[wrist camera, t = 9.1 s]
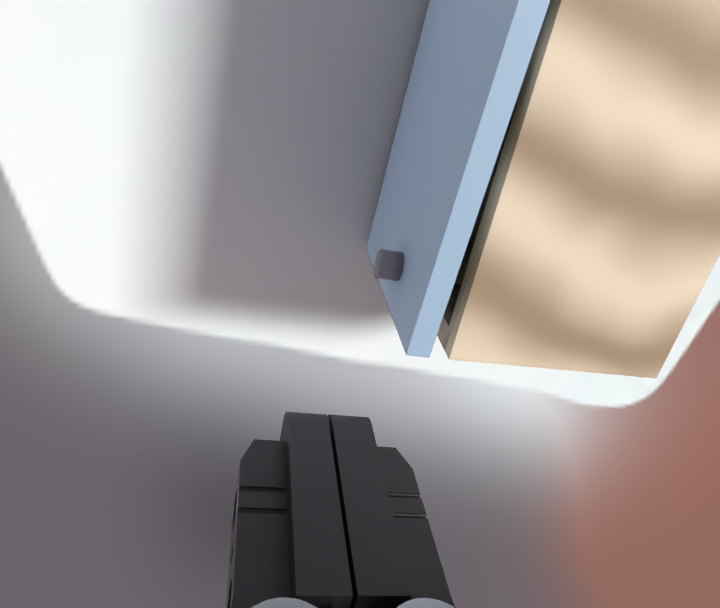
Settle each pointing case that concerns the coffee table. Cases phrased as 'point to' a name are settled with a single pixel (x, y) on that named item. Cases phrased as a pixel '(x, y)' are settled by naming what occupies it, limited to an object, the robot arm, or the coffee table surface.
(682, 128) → the cabinet
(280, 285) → the coffee table surface
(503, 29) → the cabinet door
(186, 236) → the coffee table surface
